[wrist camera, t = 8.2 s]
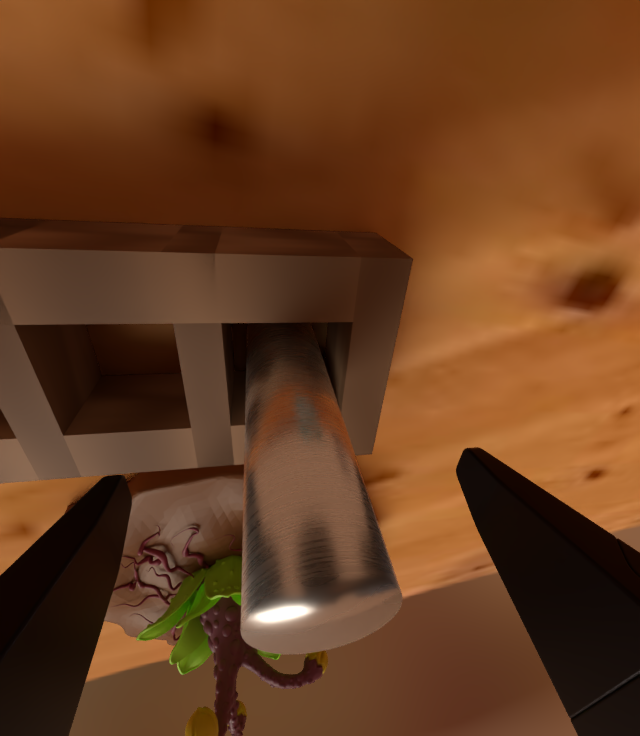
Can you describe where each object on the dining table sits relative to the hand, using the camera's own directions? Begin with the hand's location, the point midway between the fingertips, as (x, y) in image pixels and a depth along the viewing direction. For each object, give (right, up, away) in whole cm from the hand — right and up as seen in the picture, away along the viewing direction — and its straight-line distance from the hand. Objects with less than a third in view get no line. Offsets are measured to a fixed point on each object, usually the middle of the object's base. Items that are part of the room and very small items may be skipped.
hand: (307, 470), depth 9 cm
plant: (-6, -10, +16) cm, 20 cm away
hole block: (-7, +4, +6) cm, 11 cm away
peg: (-2, +5, +7) cm, 9 cm away
